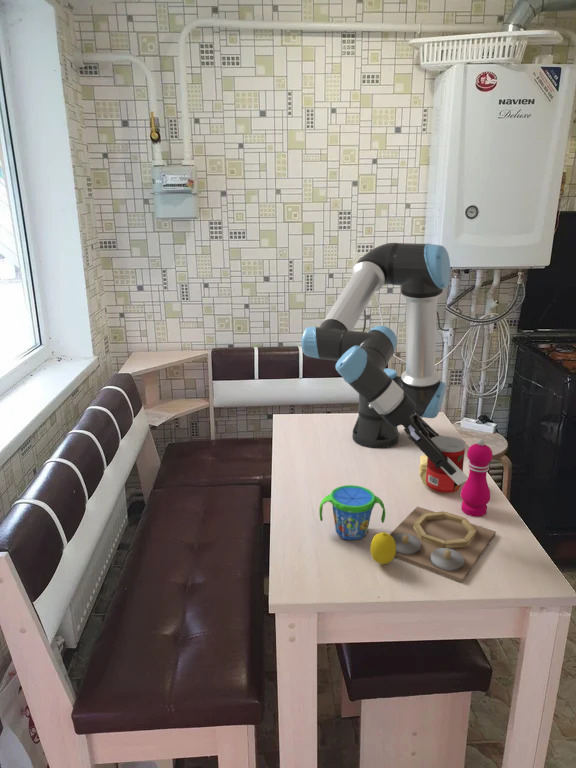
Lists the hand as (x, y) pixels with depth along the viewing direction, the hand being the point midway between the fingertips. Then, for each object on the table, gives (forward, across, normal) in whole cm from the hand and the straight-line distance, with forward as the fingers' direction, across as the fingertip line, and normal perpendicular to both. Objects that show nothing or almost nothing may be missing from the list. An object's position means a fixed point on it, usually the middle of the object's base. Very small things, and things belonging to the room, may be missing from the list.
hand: (459, 472), depth 136 cm
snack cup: (-5, +1, -29) cm, 30 cm away
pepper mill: (+17, -12, -7) cm, 22 cm away
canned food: (0, 0, -5) cm, 5 cm away
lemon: (0, +13, -24) cm, 28 cm away
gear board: (+9, +4, -15) cm, 18 cm away
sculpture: (+12, -24, -12) cm, 29 cm away
